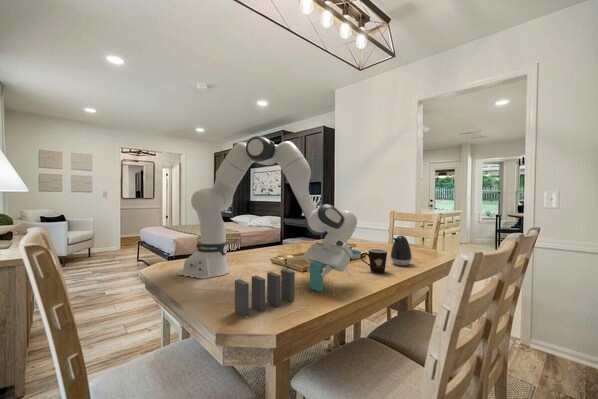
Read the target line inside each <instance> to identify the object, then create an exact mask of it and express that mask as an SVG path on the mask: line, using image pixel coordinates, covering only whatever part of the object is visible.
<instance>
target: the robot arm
mask: <svg viewBox="0 0 598 399" xmlns="http://www.w3.org/2000/svg"><path fill="white" fill-rule="evenodd" d="M254 163H256V164H260V165H264V166H266V167H272V166H275V165H277V164H278V166H279V167H280V170H281V171H282V173H283V174H284V177H285V178H286V180H287V181H288V183H289V185H290V188H291V190H292V192H293V193H292V194H294V197H295V199H296V201H297V203H298V205H299V207H300V210H301V211H302V213H303V215H304V216H303V217H304V219H305V224H306V225H305V226H306V228H307V229H308V231H309V232H310V233H311V234H313V235H316V236H320V235H323V234H326V235H325V236H324V239H323V240H322V241H321V242H318V241H317V242H316V243H315V242H314V243H312V244H311V245H310V246H309V247H308V248H307V250H306V251H305V252H304V253H303V259H304V260H305V261H306V262H307V263H308V268H307V270H306V271H307V273H308V274H310V262H316V263H320V264H323V271H321V272H320V273H319V275H320V276H321V277H323V279H324V278H325V277H326V275H327V274H329V273H331V272H332V270H335V271H338V272H344V271H345V270H346V268H347V267H348V265H349V263H350V257H351V256H352V255H353V253H352V251H351V250H352V249H351V248H350V247H349V246H348V245H347V243H348V241H349V240H351V238H352V235H353V234H354V232H355V230H356V227H357V225H358V219H357V216H356V215H355V214H354V213H353V212H351V211H350V210H342V209H339V208H336V206H334V205H332V204H328V203H325V204H322V205H320V206H319V207H318V208H317V206H316V204H315V203H314V200H313V198H312V196H311V195H310V191H309V190H310V181H311V176H312V170H311V167H310V165H309V162H308V161H307V160H306V158H305V156H304V155H303V153H302V152H301V151H300V149H299V148H298V147H297V146H296V144H294V142H292V141H290V140H289V141H288V140H287V141H286V140H285V141H282V142H280V143H279V144H275V142H274V141H272V140H270V139H268V138H266V137H265V136H260V135H256V136H253V137H251V138H249V139H248V141H247V142H245V141H239V142H237V143H236V144H235V145H234V146H233V147H232V148H231V149H230V150H229V152H228V153H227V154H226V156H225V157H224V159H223V161H222V163H221V164H220V165H219V166H218V167H219V168H218V169H217V170H216V172H215V181H214V184H213V186H212V187H211V188H207V187H206V188H205V187H204V188H200V189H198V190H196V191H195V192H194V193H193V194H192V196H191V199H190V204H191V207H192V209H194V210H195V212H196V214H197V217H198V221H199V226H200V242H199V243H197V244H195V245H194V246H195V247H194V248H197V249H196V251H194V253H192V254H191V255H189V257H187V258H186V259H185V261H184V263H183V267H182V269H180V270H178V272H177V275H178V274H179V275H178V276H180V275H184V276H183V277H187V276H190V277H189V278H194V277H196V279H203V280H204V279H209V278H215V277H221V276H224V275H227V274H229V272H230V269H229V264H228V259H227V258H228V257H227V251H228V243H227V239H226V238H227V234H226V233H227V231H226V229H227V227H226V226H227V225H226V223H225V222H224V220H223V216H222V212H224V211H226V210H228V208H230V207H231V206H232V204H233V200H234V199H233V198H234V195H235V192H236V190H237V188H238V185H239V184H240V182H241V181H242V179H243V177H244V176H245V175H246V174H247V171H248V170H249V169H250V166H251V165H253V164H254ZM326 232H327V233H326ZM350 249H351V250H350ZM324 268H325V269H324Z"/></svg>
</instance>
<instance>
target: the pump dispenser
mask: <svg viewBox="0 0 598 399" xmlns="http://www.w3.org/2000/svg"><path fill="white" fill-rule="evenodd" d="M392 240H393V243H392V247H391V250H390V259H391V260H392V263H393V264H395V265H396V266H401V267H406V266H408V265H409V264H410V263H411V261H412V259H413V258H412V250H411V246H410V243H409V241H408V239H407V237H405V236H404V235H398V236H397V237H393V238H392Z"/></svg>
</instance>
